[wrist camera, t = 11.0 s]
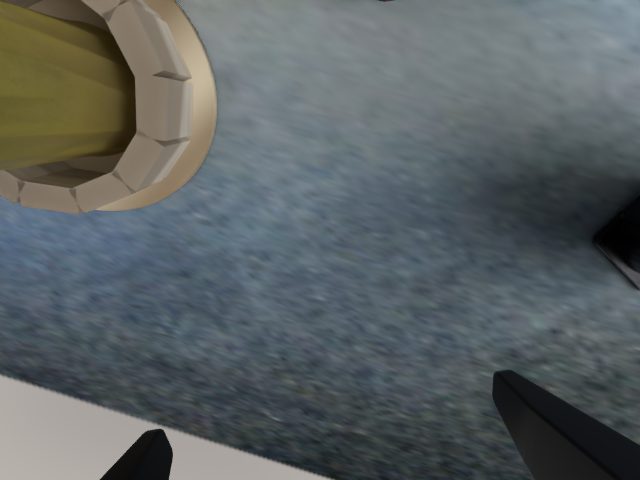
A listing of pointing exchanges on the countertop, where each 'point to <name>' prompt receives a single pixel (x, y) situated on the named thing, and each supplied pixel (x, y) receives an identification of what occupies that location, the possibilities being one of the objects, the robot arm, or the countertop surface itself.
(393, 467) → the countertop surface
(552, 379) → the countertop surface
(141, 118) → the collar stand
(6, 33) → the vase
